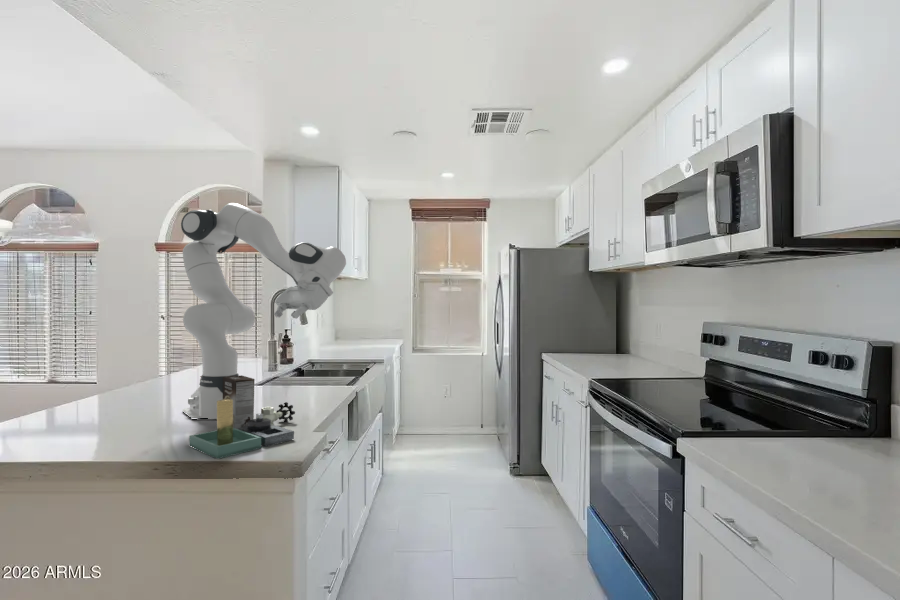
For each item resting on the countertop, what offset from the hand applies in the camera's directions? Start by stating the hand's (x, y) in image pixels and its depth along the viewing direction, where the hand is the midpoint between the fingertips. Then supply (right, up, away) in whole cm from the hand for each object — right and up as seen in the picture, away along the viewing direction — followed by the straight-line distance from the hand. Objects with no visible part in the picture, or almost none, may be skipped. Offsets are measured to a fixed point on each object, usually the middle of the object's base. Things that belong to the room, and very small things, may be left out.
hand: (284, 316), depth 153 cm
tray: (-10, -35, -18) cm, 41 cm away
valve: (-5, -36, +5) cm, 36 cm away
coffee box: (-15, -35, +1) cm, 39 cm away
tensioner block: (-3, -35, -9) cm, 37 cm away
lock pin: (-10, -34, -18) cm, 40 cm away
